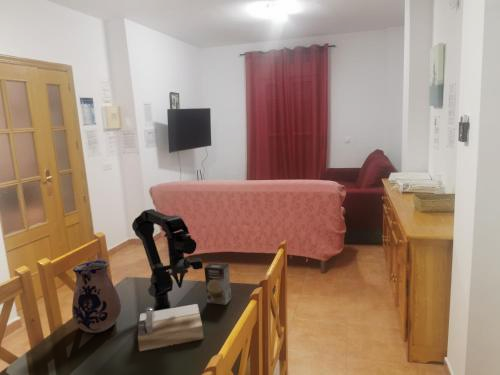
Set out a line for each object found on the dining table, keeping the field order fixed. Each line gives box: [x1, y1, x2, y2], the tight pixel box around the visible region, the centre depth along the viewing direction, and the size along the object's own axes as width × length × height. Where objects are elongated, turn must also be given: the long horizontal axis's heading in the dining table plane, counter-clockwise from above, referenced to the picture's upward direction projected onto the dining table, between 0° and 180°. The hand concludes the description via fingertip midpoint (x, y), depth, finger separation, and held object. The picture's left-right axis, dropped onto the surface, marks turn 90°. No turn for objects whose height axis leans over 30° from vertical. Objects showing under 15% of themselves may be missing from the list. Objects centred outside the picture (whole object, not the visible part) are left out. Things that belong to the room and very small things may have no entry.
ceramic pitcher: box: [71, 258, 122, 334], centre depth 150 cm, size 18×21×25 cm
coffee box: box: [203, 261, 232, 306], centre depth 164 cm, size 9×6×16 cm
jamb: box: [139, 303, 200, 323], centre depth 147 cm, size 8×22×5 cm, turn 103°
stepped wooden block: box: [137, 313, 204, 352], centre depth 138 cm, size 10×22×8 cm, turn 103°
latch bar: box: [144, 306, 155, 334], centre depth 138 cm, size 14×3×3 cm, turn 14°
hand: (180, 287), depth 150 cm, fingers closed
